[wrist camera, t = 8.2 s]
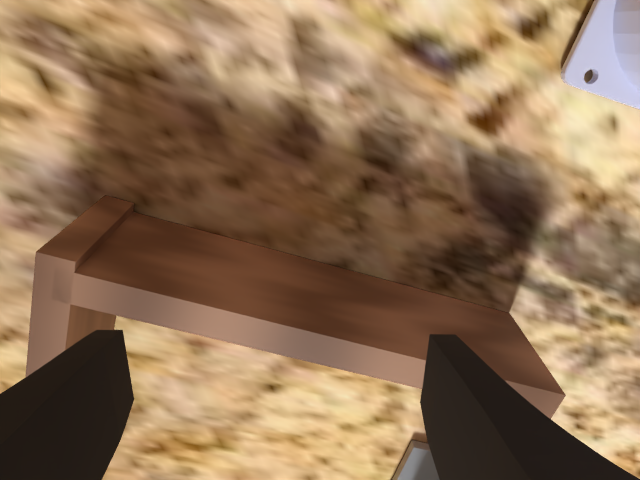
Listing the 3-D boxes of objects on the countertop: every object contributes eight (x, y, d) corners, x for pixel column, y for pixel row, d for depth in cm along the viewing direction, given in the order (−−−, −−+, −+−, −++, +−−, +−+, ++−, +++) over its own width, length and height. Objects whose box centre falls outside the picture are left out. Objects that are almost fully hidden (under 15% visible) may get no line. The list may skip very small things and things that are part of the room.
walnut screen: (513, 306, 23) (571, 386, 18) (386, 542, 29) (401, 650, 24) (105, 195, 20) (35, 251, 15) (66, 479, 27) (8, 585, 22)
